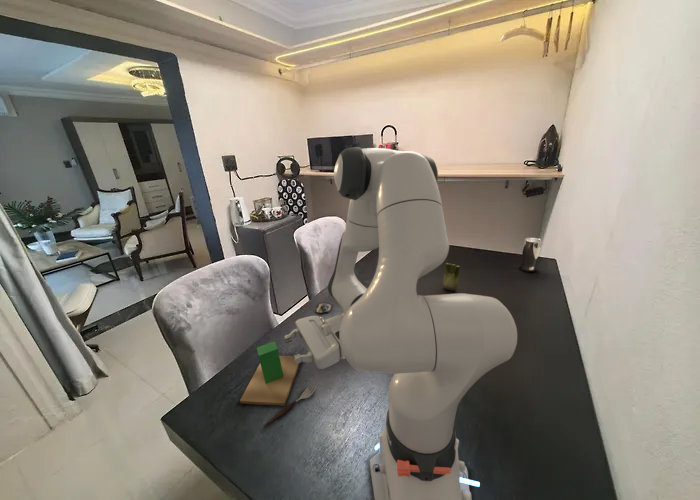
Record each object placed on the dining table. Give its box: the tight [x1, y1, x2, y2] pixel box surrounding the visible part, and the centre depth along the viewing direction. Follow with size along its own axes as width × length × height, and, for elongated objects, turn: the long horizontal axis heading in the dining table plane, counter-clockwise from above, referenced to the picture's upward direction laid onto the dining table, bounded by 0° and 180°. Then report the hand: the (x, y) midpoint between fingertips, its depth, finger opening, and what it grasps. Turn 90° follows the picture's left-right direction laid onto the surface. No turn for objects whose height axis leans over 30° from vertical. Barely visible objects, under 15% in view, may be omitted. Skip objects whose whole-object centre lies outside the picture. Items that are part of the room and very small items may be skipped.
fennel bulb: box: [442, 262, 461, 292], centre depth 111 cm, size 6×5×12 cm
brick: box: [256, 340, 283, 384], centre depth 73 cm, size 5×4×10 cm
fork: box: [263, 378, 320, 428], centre depth 66 cm, size 3×16×2 cm, turn 134°
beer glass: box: [519, 237, 543, 273], centre depth 123 cm, size 7×7×15 cm
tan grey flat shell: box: [315, 302, 333, 314], centre depth 106 cm, size 7×8×2 cm
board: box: [239, 355, 301, 407], centre depth 75 cm, size 16×12×1 cm
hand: (289, 349), depth 74 cm, fingers open, 8 cm apart
